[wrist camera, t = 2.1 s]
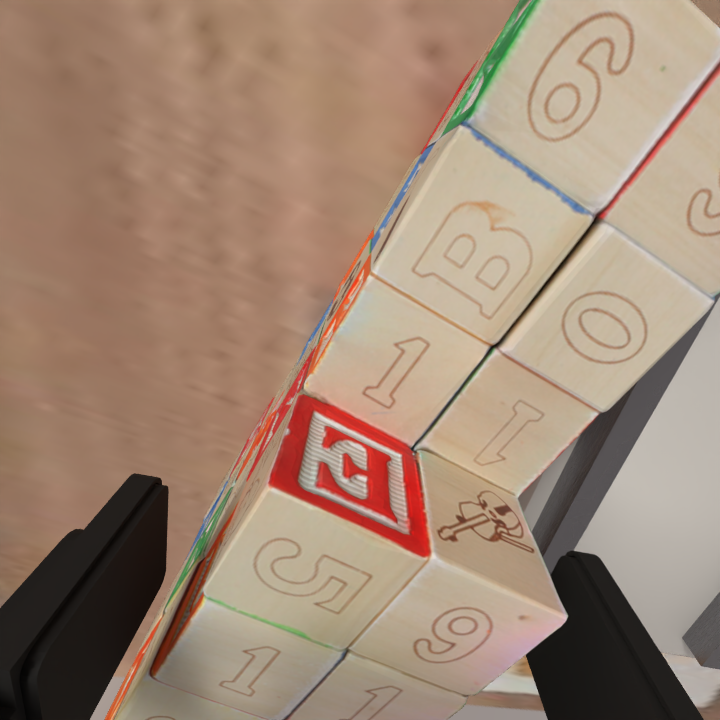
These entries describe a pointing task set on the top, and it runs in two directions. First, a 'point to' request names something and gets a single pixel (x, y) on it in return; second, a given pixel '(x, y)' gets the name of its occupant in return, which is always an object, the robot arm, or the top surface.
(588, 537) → the base board
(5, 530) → the top surface
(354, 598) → the stack of blocks
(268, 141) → the top surface
